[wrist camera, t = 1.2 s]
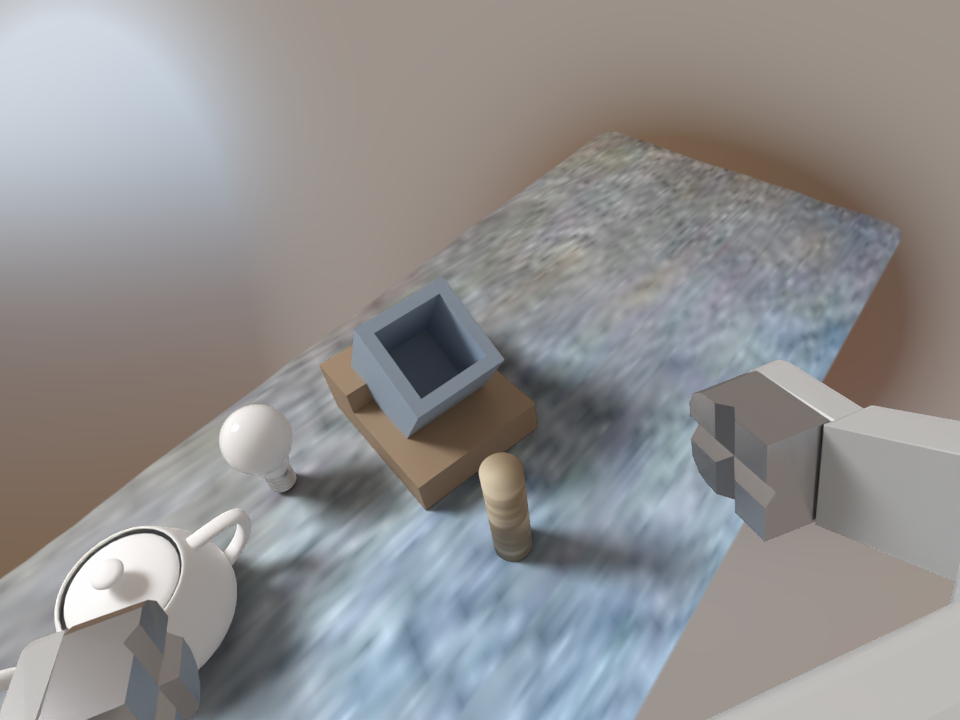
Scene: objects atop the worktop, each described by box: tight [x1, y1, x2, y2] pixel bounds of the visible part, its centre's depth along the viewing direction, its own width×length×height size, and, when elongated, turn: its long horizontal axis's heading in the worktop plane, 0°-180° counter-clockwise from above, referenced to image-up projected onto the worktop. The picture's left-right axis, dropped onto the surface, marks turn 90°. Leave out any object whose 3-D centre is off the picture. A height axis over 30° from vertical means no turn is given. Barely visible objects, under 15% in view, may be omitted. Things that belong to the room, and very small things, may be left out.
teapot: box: [0, 508, 251, 691], centre depth 53 cm, size 22×14×11 cm, turn 132°
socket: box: [320, 277, 538, 510], centre depth 63 cm, size 14×17×16 cm
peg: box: [479, 452, 532, 562], centre depth 54 cm, size 3×3×12 cm
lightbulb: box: [219, 404, 296, 492], centre depth 61 cm, size 6×6×11 cm
